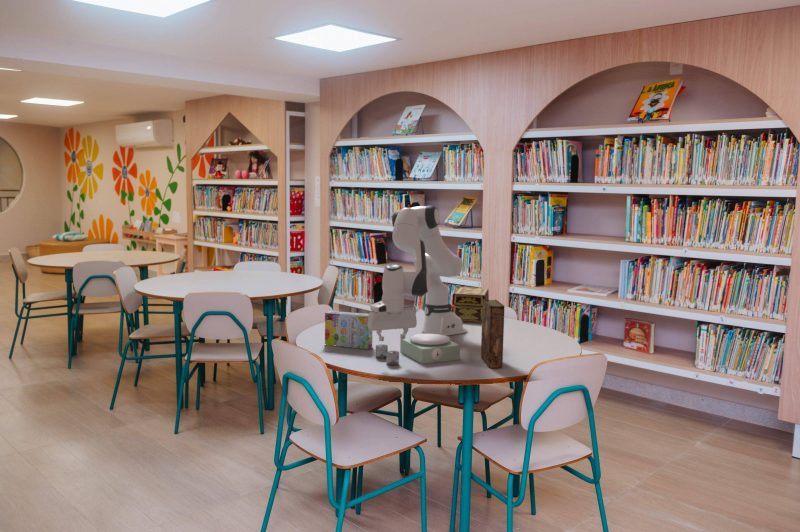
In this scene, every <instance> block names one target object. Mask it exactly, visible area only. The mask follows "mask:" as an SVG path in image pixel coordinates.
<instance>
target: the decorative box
mask: <svg viewBox="0 0 800 532" xmlns="http://www.w3.org/2000/svg"><path fill="white" fill-rule="evenodd" d="M489 295H490V294H489V288H488V287H468V286H467V287H466V286H458V287H457V288H456V290H455V291H454V292H453V293H452V300H451V301H452V302H451V305H455V309H451V311H452V312H453V313H454V314H456V315H457V316H458V317H459V318H461V320H462V323H471V324H473V323H474V324H477V323H478V324H482V308H483V300H490V296H489Z"/></svg>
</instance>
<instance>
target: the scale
mask: <svg viewBox="0 0 800 532" xmlns="http://www.w3.org/2000/svg"><path fill="white" fill-rule="evenodd" d="M399 340H400V344H399V345H400V349H399V353H401V354H403V355H405V356H406V357H409V358H410V359H412V360H413V361H416V362H417V363H419V364H431V363H440V362H447V361H457V360H461V344H459V343H457V342H454V341H452V340H451V338H450V337H449V335H447V336H445V335H440V334H426V333H416V334H413V335H411V336H410V337H405V339H401V338H400V339H399Z"/></svg>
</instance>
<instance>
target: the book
mask: <svg viewBox="0 0 800 532" xmlns="http://www.w3.org/2000/svg"><path fill="white" fill-rule="evenodd" d="M504 326H505V305H504V304H503V303H502V302H500V300H499V301H498V299H489V300H483V308H482V323H481V341H480V343H481V345H480V347H481V348H480V359H481V360H482V361H483V363H484V364H485V365H486V366H487V368H488V369H492V370H499V369H503V360H504V359H503V357H504V352H503V351H504V334H505V332H504V330H505V327H504Z"/></svg>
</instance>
